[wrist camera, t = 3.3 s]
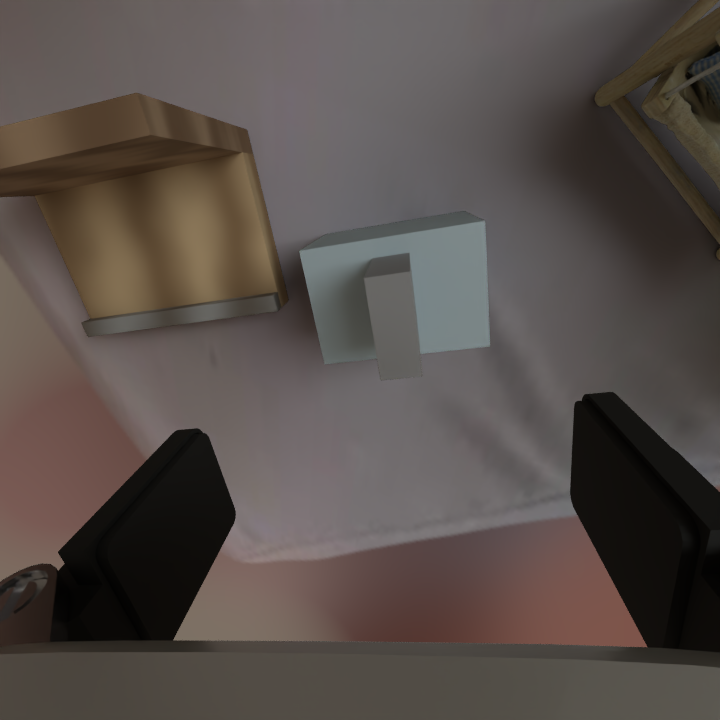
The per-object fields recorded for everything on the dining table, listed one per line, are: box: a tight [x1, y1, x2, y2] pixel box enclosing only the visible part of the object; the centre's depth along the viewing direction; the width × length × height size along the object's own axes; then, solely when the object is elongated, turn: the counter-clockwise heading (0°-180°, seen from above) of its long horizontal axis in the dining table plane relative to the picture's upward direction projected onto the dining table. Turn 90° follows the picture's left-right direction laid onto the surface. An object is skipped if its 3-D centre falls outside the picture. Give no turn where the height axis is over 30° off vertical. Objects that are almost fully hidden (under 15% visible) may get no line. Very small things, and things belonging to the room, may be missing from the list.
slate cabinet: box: [299, 211, 490, 380], centre depth 24 cm, size 10×7×13 cm
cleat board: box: [0, 93, 289, 337], centre depth 25 cm, size 16×12×12 cm
